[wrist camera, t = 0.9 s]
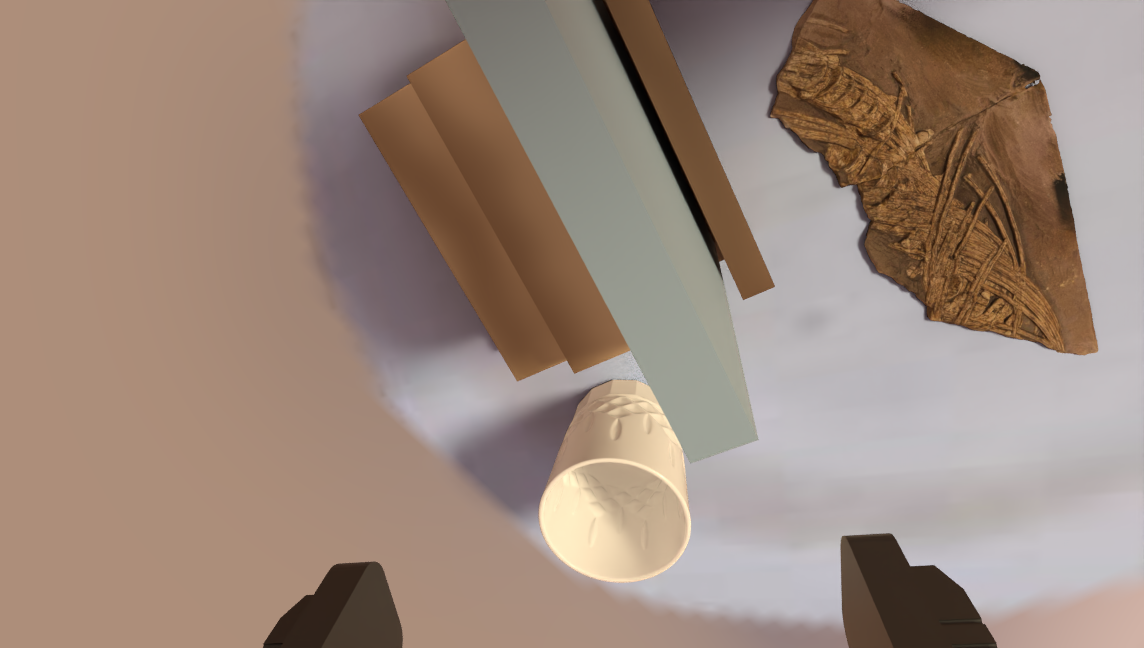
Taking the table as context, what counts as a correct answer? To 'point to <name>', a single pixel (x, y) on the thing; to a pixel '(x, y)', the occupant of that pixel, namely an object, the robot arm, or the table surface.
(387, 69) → the table surface
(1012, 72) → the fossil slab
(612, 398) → the white cup
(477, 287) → the short oak offcut
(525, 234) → the tall oak offcut
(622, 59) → the tall board
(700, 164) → the rack
